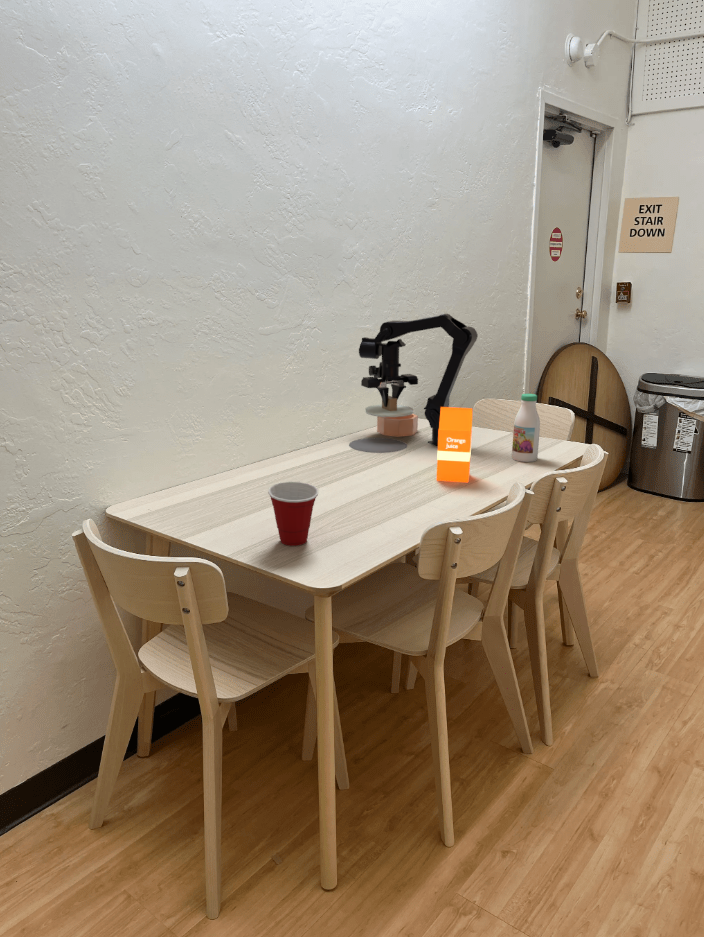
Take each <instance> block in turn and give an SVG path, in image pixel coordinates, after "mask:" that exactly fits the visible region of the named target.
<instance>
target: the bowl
mask: <svg viewBox="0 0 704 937" xmlns="http://www.w3.org/2000/svg"><path fill="white" fill-rule="evenodd" d="M376 419H377V420H376V422H377V423H376V428H377V430H376V432H377V433H379V434H381V435H383V436H386V437H387V436H388V437H390V436H391V437H398V438H400V437H408V436H409V437H410V436H414V435H415V434H416V433H418V424H419V423H418V421H419V415H417V414H414V413H413V414H411V415H408V416H403V417H378V416H376Z"/></svg>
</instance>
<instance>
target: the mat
mask: <svg viewBox="0 0 704 937" xmlns="http://www.w3.org/2000/svg"><path fill="white" fill-rule="evenodd" d="M348 447H349V448H350V449H352V450H356V451H358V452H363V453H371V454H373V453H374V454H386V453H387V454H388V453H396V452H400V451H404V450H405V449H407V447H408V444H407V443H406V442H404V441H402V440H399V439H395V438H387V437H365V438H358V439H355V440H352V441H351V442H349V443H348Z"/></svg>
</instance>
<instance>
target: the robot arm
mask: <svg viewBox="0 0 704 937" xmlns="http://www.w3.org/2000/svg"><path fill="white" fill-rule="evenodd" d="M437 328H441V329H443V330H444V332H446V334H447V335H448V336H449V337H451V338H452V343H451V344H452V345H451V355H450V358H449V360H448V362H447V365H446V368H445V371H444V373H443V376H442V378H441V381H440V383H439V387H438V388H437V391H436V393H435V394H433V395H431V396H429V397H428V398H427V401H426V405H425V406H424V408H423V410H424V416H425V419H426V420H427V421H428V423H429V427H430V429H432V430H431V431H432V432H431V440H427V444H428V443H429V444H430V445H432V446H434V447H436V448H438V431H439V422H440V411H441V407H450V397H451V394H452V390H453V388H454V386H455V383H456V380H458V379H457V378H458V375H459V372H460V371H461V368H462V365H463V363H464V360H465V358H466V356H467V355H468V353H469V352H470V351H471V350H472V348H473V346H475V343H476V342H477V340H478V336H479V335H478V332H477V330H476V329H475V328H474V327H472V326H467V325H466V324H465V323H463V322H461V321H459V320H458V319H457V318H455V317H453V316H452V315H451V314H449V313H442V314H439V315H435V316H431V317H430V316H429V317H424V318H419V319H418V318H417V319H415V320H390V321H386V322H383V323H382V324H381V325H380V327H379V332H378V333H377V335H376V336H375V337H371V338H370V337H365V336H364V337H362V338H361V342H360V344H359V348H358V355H359V358H361V359H373V360H378V359H379V358H380V357H381V361H380V362H379V366H378V367H377V366H376V365H369V366H368V375H369V376H365V377H362V378H361V383H360V385H361V386H362V387H364V388H366V389H376V390H377V391H378V393H379V395H380V397H381V401H382V400H383V403H384V406H385V407H387V404H388V396H389V391H390V388H389V387H388V386H387V385H388V384H389V385H390V386H391V397H394V398H397V401H398V400H399V397H400V396H401V394H402V392H403V391H404V389H406V388H407V386H406V385H405V383H408V384H409V385H411V386H413V385H419V378H418V376H417V375H415V374H411V373H406V374H400V368H401V367H402V364H401V363H400V348H403V347H406V346H407V345H406V343H405V342H404V341H403V340H402V338H400V337H402V336H405V335H407V334H408V335H409V333H414V332H419V331H427V330H430V329H431V330H433V329H437ZM397 338H399V339H397ZM393 339H397V340H393ZM386 341H387V343H383V342H386ZM399 374H400V375H399Z"/></svg>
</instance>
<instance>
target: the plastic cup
mask: <svg viewBox="0 0 704 937" xmlns="http://www.w3.org/2000/svg"><path fill="white" fill-rule="evenodd" d="M267 490H268V491H267V493H268V495H269V497H270V501H271V504H272V508H273V512H274V517H275V522H276V528H277V531H278V535H279V539H280V542H281V544H282V545H285V546H289V547H290V546H291V547H294V546H295V547H296V546H302V545H304V544H307V541H308V537H309V531H310V527H311V520H312V514H313V509H314V506H315V502H316V499H317V497H318V496H319V489H318V488H317V486H315V485H312V484H310V483H307V482H301V481H283V482H278V483H274V484H273V485H271V486H269V488H268V489H267Z"/></svg>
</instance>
